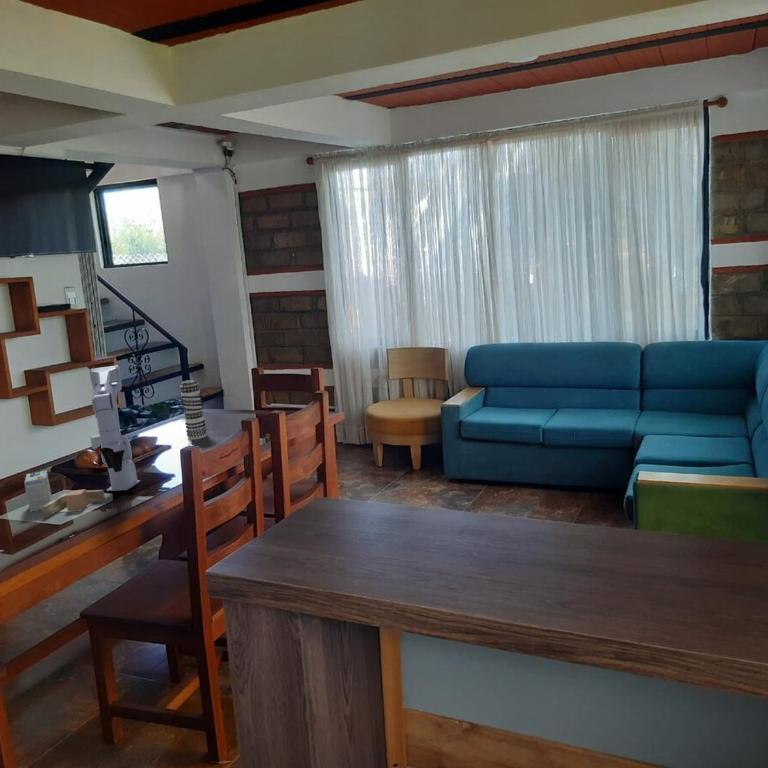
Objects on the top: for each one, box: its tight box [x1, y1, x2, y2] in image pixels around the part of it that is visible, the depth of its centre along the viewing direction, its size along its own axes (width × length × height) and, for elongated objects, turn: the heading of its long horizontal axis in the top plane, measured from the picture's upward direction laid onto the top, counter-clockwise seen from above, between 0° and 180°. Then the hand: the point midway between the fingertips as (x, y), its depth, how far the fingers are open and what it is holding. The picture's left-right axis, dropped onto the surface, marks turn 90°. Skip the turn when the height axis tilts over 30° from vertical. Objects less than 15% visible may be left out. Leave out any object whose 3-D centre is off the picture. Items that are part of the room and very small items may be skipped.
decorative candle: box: [179, 379, 208, 440], centre depth 325 cm, size 9×9×25 cm
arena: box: [41, 489, 106, 518], centre depth 245 cm, size 15×13×4 cm
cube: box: [65, 489, 89, 510], centre depth 246 cm, size 5×5×5 cm
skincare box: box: [89, 433, 101, 449], centre depth 296 cm, size 6×4×12 cm
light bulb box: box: [24, 470, 53, 513], centre depth 251 cm, size 11×7×11 cm, turn 22°
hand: (115, 469), depth 248 cm, fingers open, 7 cm apart
